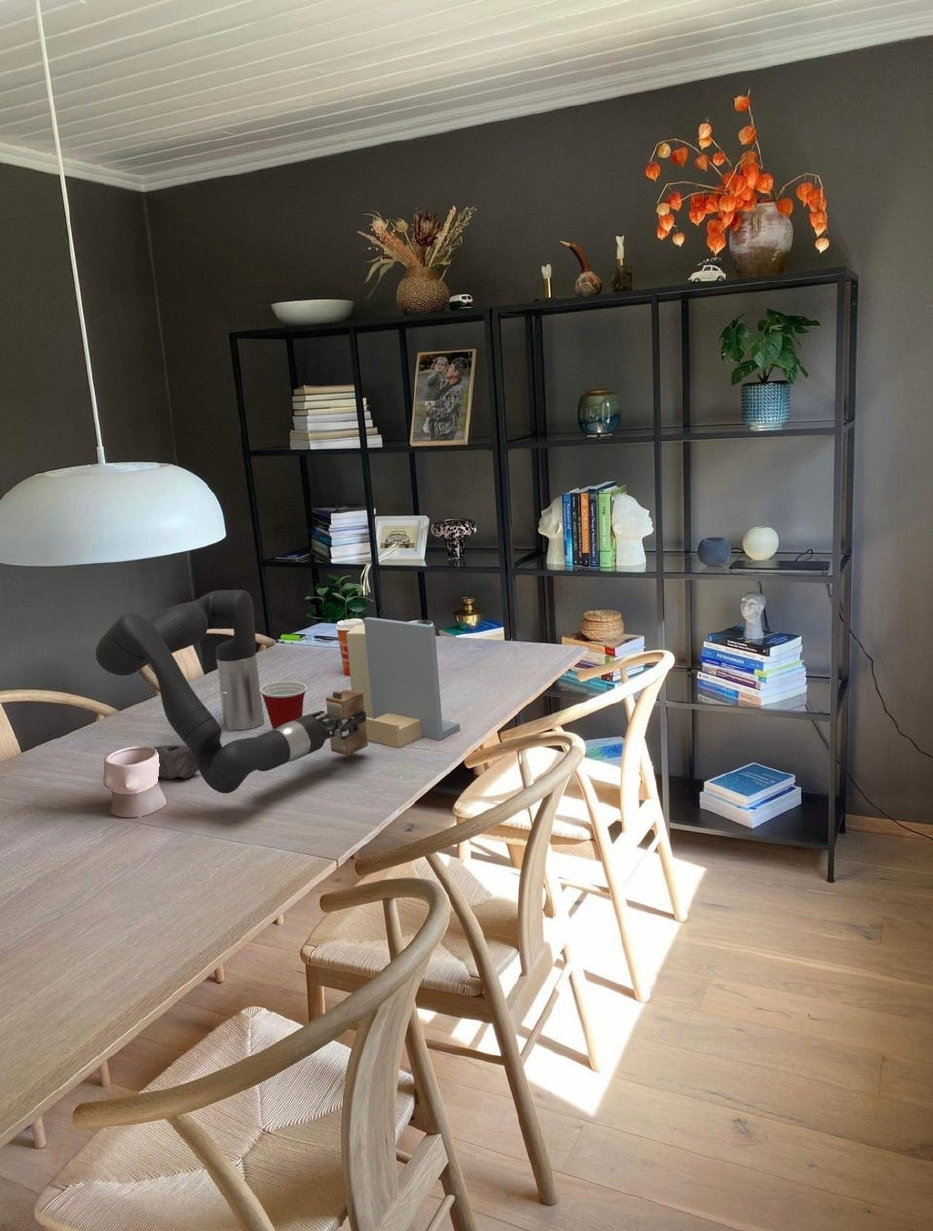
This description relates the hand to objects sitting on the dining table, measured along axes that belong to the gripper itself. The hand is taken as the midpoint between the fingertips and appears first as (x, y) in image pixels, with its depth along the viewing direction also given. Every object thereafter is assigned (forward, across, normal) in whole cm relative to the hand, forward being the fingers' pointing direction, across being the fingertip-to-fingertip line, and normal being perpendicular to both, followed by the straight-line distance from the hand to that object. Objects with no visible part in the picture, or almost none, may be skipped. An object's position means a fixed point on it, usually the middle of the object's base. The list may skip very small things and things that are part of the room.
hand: (355, 713), depth 201 cm
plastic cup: (+1, -23, -10) cm, 25 cm away
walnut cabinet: (-3, 0, -7) cm, 8 cm away
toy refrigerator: (+23, -18, -10) cm, 30 cm away
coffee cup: (+44, -45, -10) cm, 64 cm away
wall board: (+16, 0, -9) cm, 18 cm away
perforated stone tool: (-29, -28, -10) cm, 42 cm away
